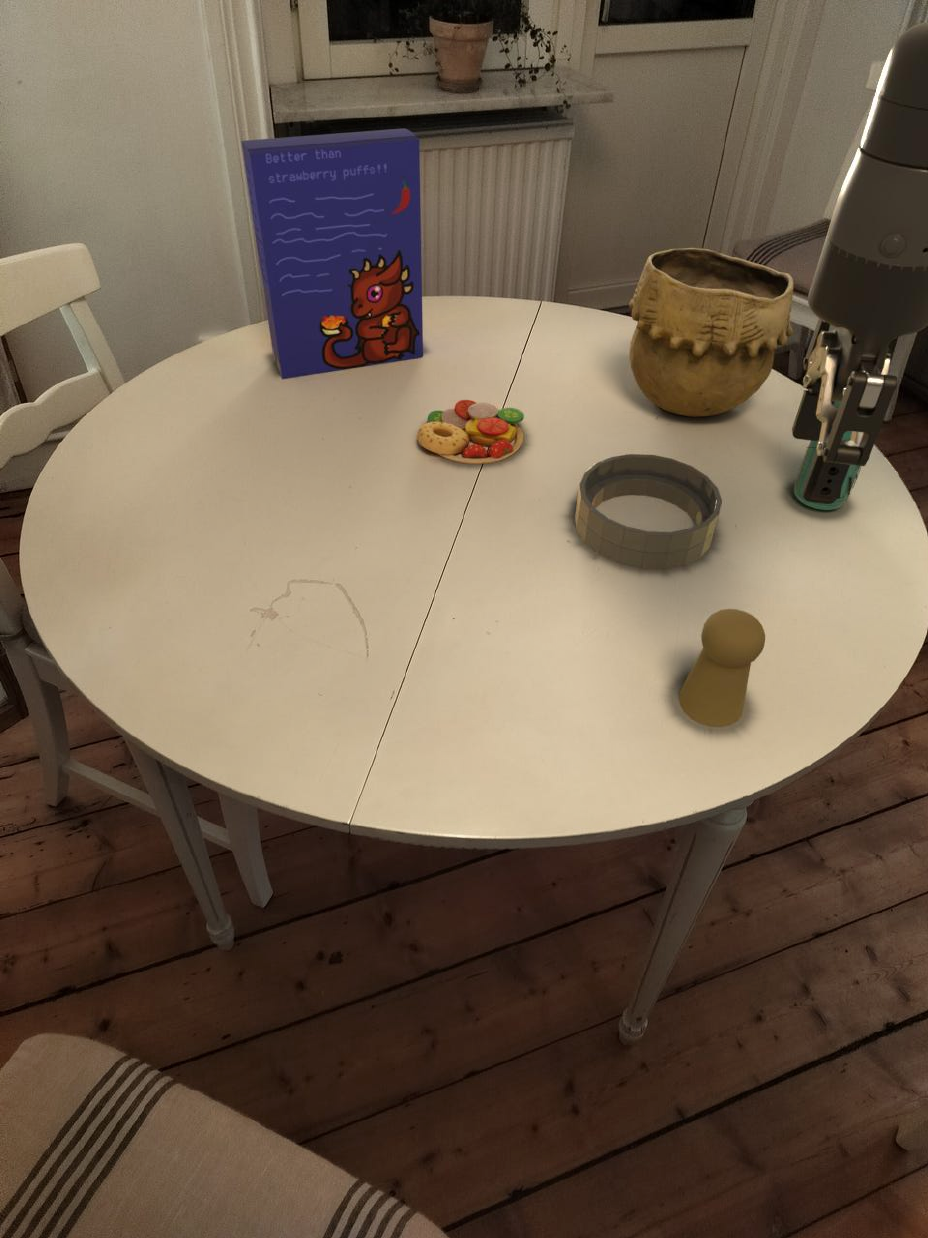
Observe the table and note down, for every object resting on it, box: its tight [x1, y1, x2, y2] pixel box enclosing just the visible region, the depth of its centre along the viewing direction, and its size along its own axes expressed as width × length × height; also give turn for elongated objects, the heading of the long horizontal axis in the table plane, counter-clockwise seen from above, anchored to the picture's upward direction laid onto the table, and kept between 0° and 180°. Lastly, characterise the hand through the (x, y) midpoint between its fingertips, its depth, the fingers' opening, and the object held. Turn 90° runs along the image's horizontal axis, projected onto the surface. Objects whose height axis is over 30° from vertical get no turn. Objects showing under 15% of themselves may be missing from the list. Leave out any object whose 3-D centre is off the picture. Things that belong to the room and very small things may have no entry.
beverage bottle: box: [793, 348, 894, 511], centre depth 94 cm, size 6×7×20 cm
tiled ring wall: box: [574, 453, 723, 571], centre depth 95 cm, size 16×16×6 cm
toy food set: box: [416, 399, 525, 465], centre depth 109 cm, size 13×13×3 cm
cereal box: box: [240, 127, 424, 380], centre depth 116 cm, size 22×6×30 cm, turn 111°
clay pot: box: [628, 247, 794, 418], centre depth 111 cm, size 21×21×20 cm
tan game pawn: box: [678, 608, 766, 728], centre depth 73 cm, size 6×6×11 cm
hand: (811, 467), depth 61 cm, fingers open, 8 cm apart
